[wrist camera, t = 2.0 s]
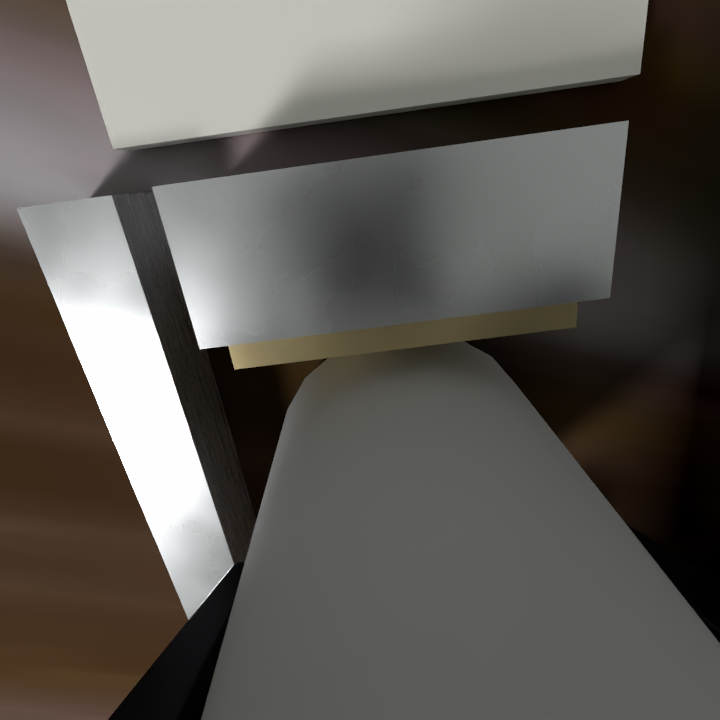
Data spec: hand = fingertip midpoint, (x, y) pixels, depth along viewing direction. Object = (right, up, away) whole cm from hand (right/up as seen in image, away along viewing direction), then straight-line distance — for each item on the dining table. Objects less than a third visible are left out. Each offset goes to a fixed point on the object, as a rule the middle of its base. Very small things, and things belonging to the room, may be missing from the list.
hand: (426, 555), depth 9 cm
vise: (-2, +2, +5) cm, 5 cm away
